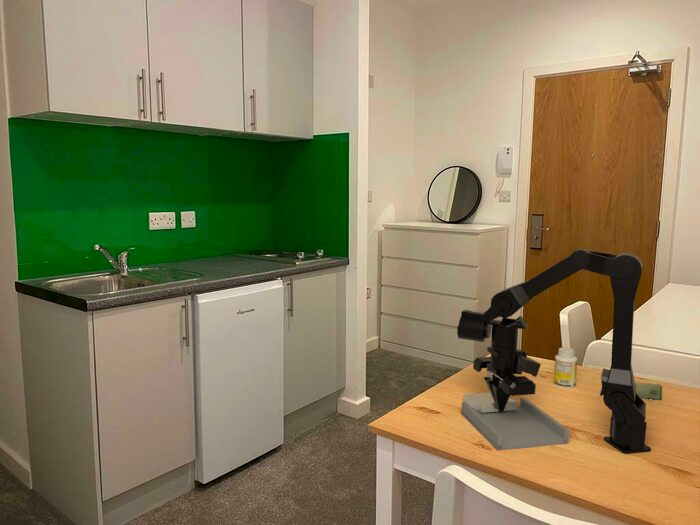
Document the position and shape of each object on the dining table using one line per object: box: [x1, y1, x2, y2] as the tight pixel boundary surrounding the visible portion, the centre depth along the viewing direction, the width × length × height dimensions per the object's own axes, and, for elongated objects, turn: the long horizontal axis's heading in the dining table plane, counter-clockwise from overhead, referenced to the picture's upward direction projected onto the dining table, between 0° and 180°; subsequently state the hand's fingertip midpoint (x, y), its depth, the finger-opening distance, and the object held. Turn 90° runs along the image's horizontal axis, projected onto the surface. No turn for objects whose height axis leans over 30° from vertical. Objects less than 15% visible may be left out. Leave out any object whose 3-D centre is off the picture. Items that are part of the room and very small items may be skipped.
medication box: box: [635, 381, 663, 401], centre depth 137 cm, size 12×3×4 cm, turn 81°
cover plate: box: [462, 392, 518, 413], centre depth 129 cm, size 10×9×2 cm
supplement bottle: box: [553, 347, 578, 389], centre depth 145 cm, size 6×6×10 cm
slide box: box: [460, 397, 570, 451], centre depth 119 cm, size 18×16×3 cm
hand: (500, 410), depth 124 cm, fingers closed
